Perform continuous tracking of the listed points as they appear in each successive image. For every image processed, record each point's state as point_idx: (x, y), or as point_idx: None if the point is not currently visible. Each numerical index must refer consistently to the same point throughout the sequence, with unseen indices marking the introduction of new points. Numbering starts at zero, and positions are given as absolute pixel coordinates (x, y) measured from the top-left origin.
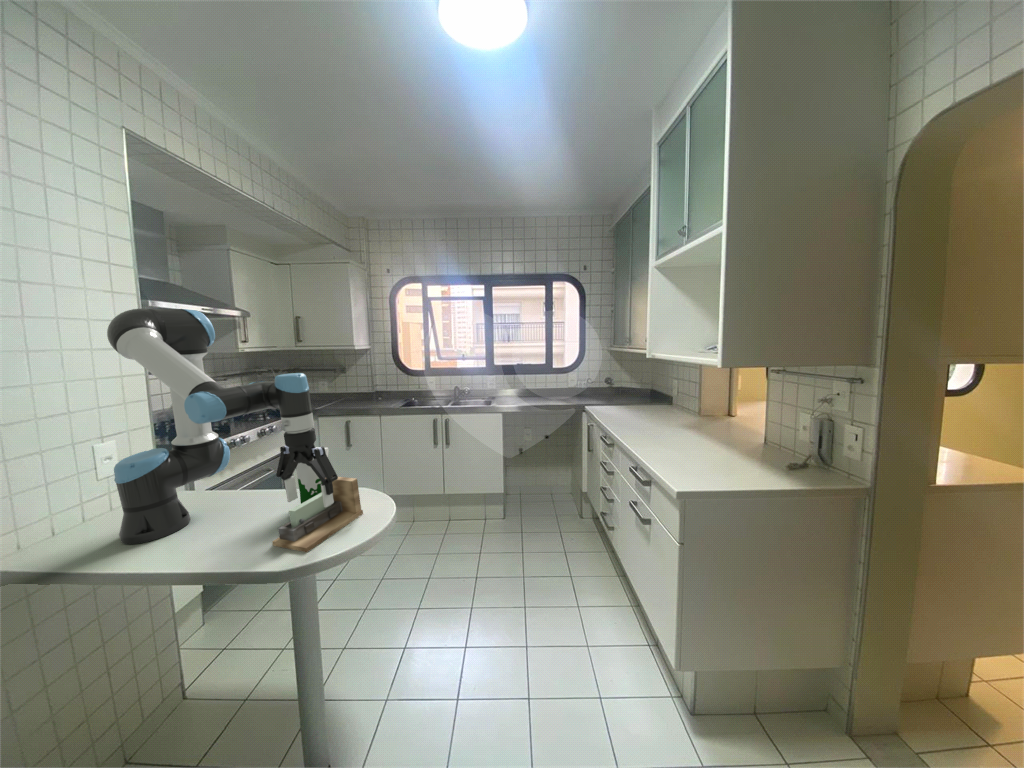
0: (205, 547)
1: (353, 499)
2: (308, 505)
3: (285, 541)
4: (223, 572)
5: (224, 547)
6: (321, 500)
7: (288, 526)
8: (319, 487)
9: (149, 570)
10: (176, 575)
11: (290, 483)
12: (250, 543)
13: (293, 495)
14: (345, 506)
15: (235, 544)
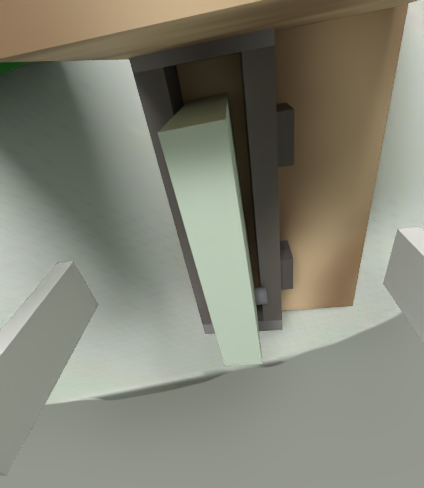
0: None
1: None
2: (252, 295)
3: None
4: (208, 375)
5: (88, 339)
6: (239, 201)
7: None
8: None
9: (66, 399)
10: (131, 395)
11: (14, 405)
12: (126, 315)
13: (70, 303)
14: (306, 23)
15: (95, 327)
